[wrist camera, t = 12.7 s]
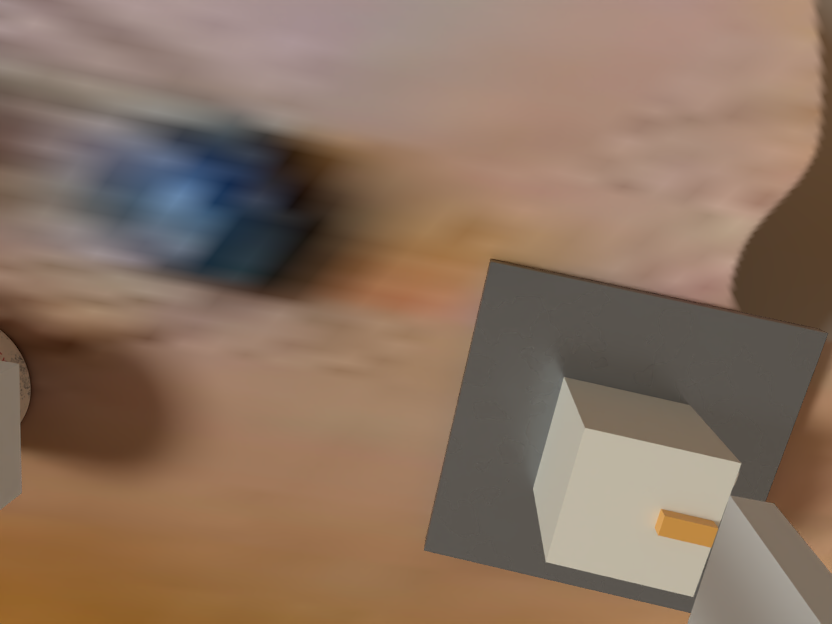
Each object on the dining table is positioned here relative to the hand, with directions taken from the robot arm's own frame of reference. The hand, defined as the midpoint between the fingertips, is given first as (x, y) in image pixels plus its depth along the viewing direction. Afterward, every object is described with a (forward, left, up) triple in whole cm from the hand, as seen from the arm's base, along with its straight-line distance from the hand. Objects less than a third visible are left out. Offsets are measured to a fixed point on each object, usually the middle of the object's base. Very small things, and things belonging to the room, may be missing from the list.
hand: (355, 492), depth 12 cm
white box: (+8, +12, -24) cm, 27 cm away
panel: (+8, +12, -25) cm, 28 cm away
